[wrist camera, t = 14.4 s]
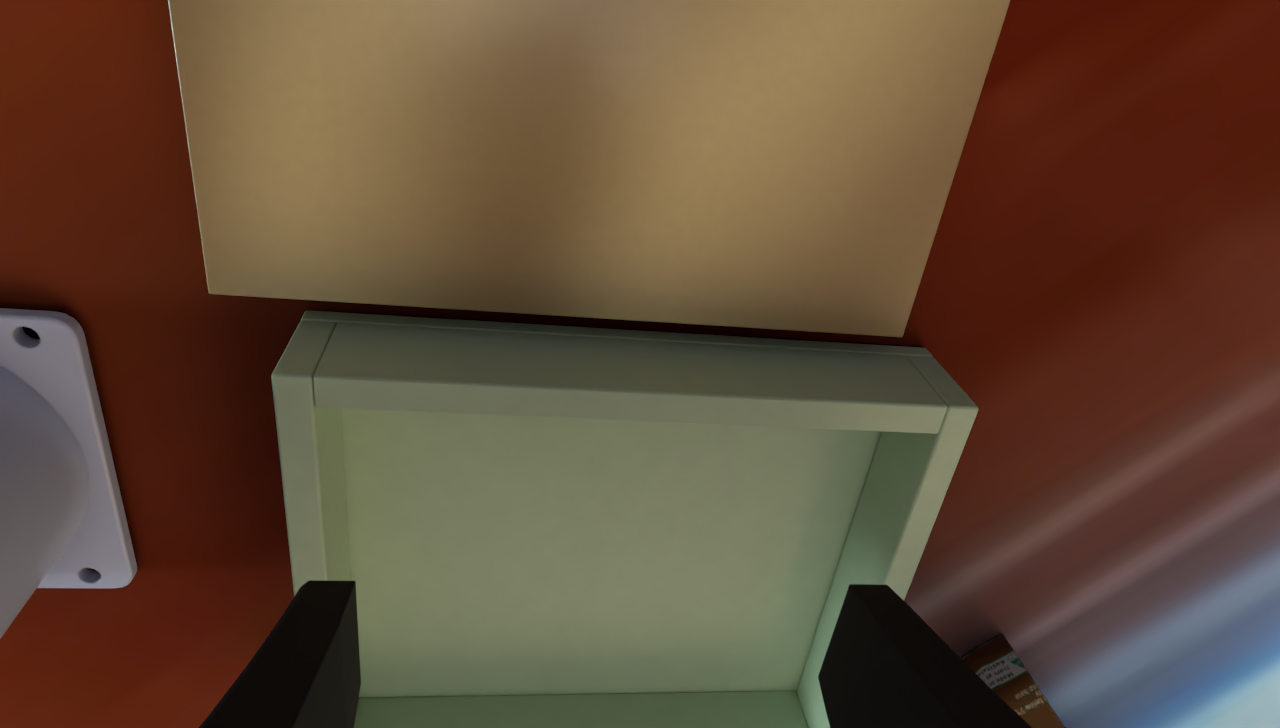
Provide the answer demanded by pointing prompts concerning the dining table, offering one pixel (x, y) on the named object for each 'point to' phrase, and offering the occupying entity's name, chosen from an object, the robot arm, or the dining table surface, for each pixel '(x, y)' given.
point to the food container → (1012, 682)
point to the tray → (603, 512)
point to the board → (582, 153)
